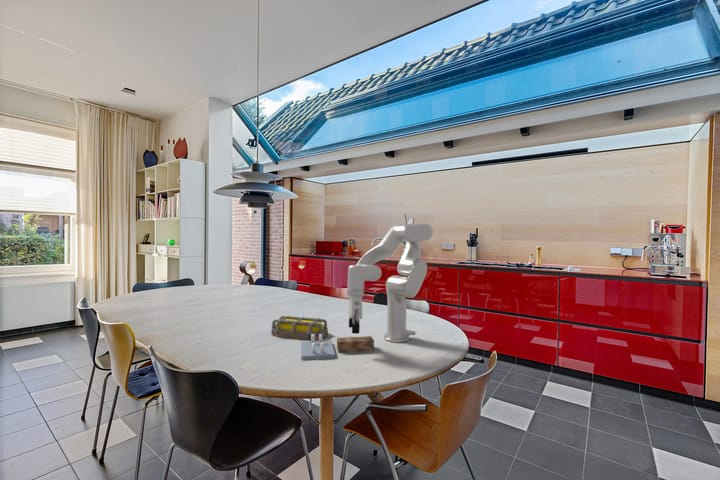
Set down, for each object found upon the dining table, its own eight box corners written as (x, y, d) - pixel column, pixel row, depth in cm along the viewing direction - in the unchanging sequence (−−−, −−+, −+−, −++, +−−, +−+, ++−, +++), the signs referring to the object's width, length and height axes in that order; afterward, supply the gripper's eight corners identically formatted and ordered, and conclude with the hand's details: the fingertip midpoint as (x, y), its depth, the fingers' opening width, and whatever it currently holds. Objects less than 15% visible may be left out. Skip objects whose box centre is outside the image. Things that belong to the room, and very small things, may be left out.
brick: (370, 346, 153) (371, 336, 153) (373, 351, 147) (374, 340, 147) (336, 348, 150) (336, 337, 150) (338, 353, 144) (338, 342, 144)
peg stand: (331, 343, 156) (331, 332, 155) (335, 358, 138) (335, 345, 138) (301, 345, 153) (301, 333, 153) (301, 359, 135) (301, 346, 135)
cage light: (279, 313, 180) (331, 317, 173) (279, 328, 180) (331, 332, 173) (266, 320, 166) (322, 325, 159) (266, 336, 166) (321, 341, 159)
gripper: (367, 295, 140) (365, 335, 140) (360, 289, 157) (358, 325, 157) (350, 295, 139) (348, 335, 139) (344, 289, 156) (343, 325, 156)
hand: (353, 330), depth 148 cm, fingers open, 9 cm apart
